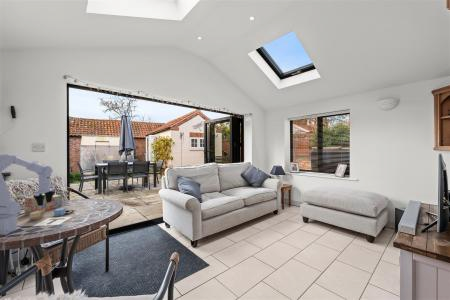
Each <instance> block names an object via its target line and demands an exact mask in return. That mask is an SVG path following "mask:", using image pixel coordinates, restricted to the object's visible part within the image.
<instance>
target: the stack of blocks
mask: <svg viewBox="0 0 450 300" xmlns="http://www.w3.org/2000/svg"><path fill="white" fill-rule="evenodd" d="M42 195H45V194H42ZM33 196H34V195H32V196H28V197H24V214H25V216H27V215H29V216H30V213H32V212H35V211H45V212H48V211H49V210H53V209H54V210H55V209H58V208H60V207H62V206H63V194H54V195H53V197H52V200H51V202H46V196H45V197H44V200H43V205H42V206H38V203H37V201H36V199H35V198H34V197H33Z"/></svg>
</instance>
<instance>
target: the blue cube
mask: <svg viewBox="0 0 450 300" xmlns="http://www.w3.org/2000/svg"><path fill="white" fill-rule="evenodd" d="M66 210H67V209H66V207H63V208H60V207H58V208H55V209H54V210H53V211H54V212H53V216H54V217H57V216H58V217H59V216H61V217H63V215H65V214H66Z"/></svg>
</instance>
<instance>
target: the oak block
mask: <svg viewBox="0 0 450 300" xmlns="http://www.w3.org/2000/svg"><path fill="white" fill-rule="evenodd" d="M45 212H46V211H35V212H32V213H30V215H29V221H39V220H41V219H43V218H45V217H46V216H45Z"/></svg>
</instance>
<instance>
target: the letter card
mask: <svg viewBox="0 0 450 300" xmlns="http://www.w3.org/2000/svg"><path fill="white" fill-rule="evenodd" d="M71 218H72V216H61V217H59V216H58V217H57V216H56V217H48V218H46V219H44V220H41V221H40V222H38V223H35V224H34V225H33V227H42V226H45V227H46V226H55V225H57V226H58V225H61V224H63V223H64V222H66V221H68V220H69V219H71Z"/></svg>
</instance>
